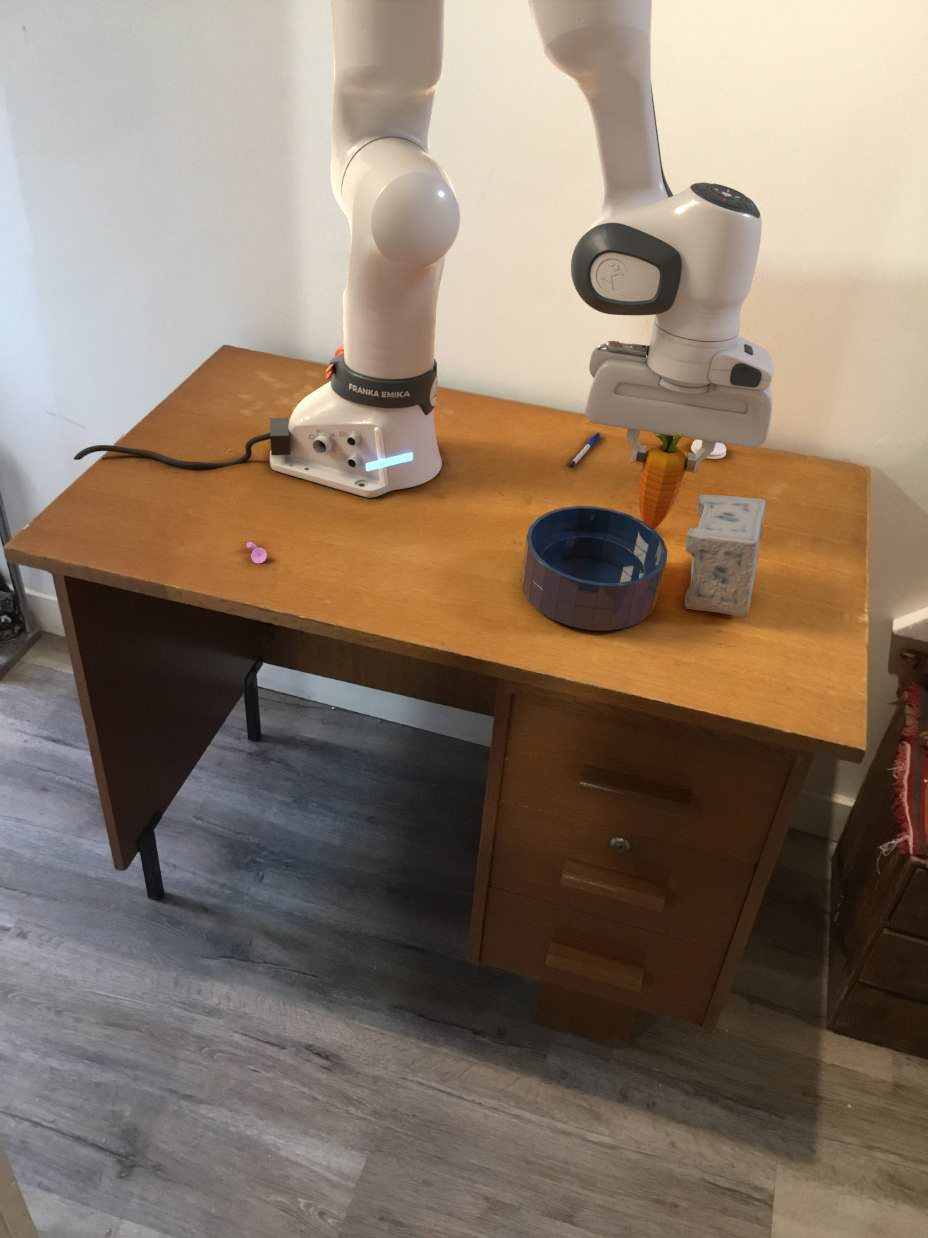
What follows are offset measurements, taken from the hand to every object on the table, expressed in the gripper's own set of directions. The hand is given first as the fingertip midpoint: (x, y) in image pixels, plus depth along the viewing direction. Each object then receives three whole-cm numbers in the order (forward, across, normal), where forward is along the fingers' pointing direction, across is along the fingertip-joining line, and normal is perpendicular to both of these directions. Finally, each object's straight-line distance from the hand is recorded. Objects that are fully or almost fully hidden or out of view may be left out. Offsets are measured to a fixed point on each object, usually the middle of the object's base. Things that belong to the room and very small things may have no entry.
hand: (664, 466), depth 106 cm
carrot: (+9, 0, 0) cm, 9 cm away
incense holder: (+9, +8, -10) cm, 16 cm away
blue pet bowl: (+9, -6, -14) cm, 18 cm away
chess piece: (+9, +7, +24) cm, 27 cm away
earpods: (+9, -43, -19) cm, 48 cm away
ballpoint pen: (+9, -10, +18) cm, 23 cm away
